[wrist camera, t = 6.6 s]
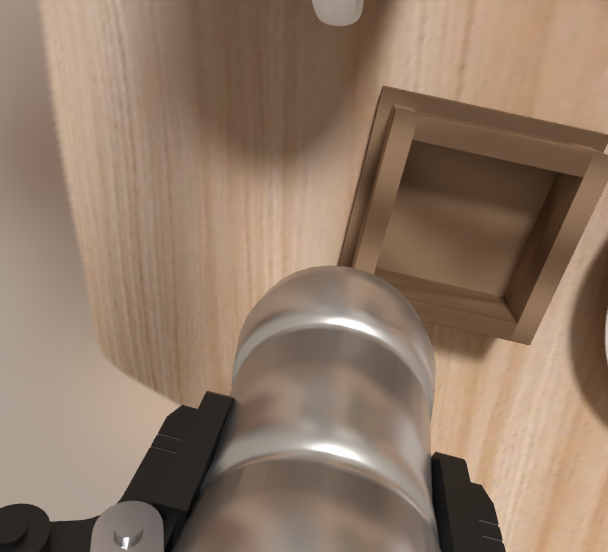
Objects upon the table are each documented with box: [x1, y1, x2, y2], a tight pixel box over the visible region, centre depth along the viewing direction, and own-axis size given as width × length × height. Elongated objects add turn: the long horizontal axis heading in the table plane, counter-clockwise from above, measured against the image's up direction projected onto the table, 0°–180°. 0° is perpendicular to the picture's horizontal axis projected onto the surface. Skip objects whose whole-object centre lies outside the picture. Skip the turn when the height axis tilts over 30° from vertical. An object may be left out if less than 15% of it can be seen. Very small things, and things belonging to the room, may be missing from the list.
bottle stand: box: [339, 86, 608, 345], centre depth 29 cm, size 13×13×4 cm
